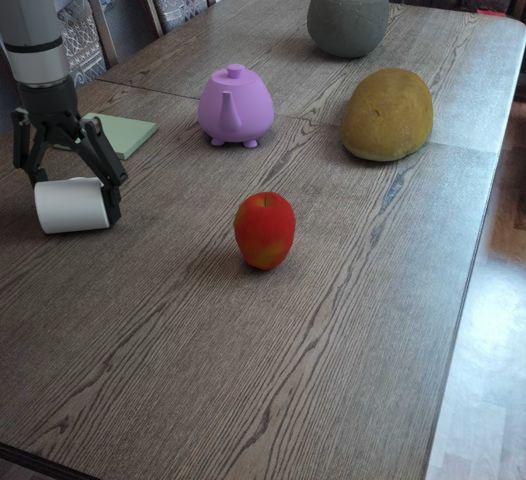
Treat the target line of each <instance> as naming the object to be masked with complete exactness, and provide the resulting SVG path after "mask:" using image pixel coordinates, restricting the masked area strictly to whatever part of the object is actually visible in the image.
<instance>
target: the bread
mask: <svg viewBox="0 0 526 480" xmlns="http://www.w3.org/2000/svg"><path fill="white" fill-rule="evenodd" d="M433 125H434V104H433V98H432V95H431V91H430V89H429V86H428V85H427V83H426V82H425V81H424V80H423V79H422V77H420V76H419V75H418V74H417V73H415V72H413V71H411V70H409V69H404V68H400V67H389V68H388V67H387V68H383V69H379V70H377V71H374V72H372V73H370V74H368V75H367V76H366V77H365V78H363V79H362V80H361V81H360V82H358V84H357V86H356V87H355V88H354V90H353V92H352V94H351V96H350V97H349V100H348V103H347V106H346V111H345V115H344V118H343V121H342V127H341V134H340V137H341V142H342V144H343V146H344V147H345V149H346V150H347V151H348V152H350V153H351V154H352V155H354V156H355V157H357V158H360V159H364V160H369V161H374V162H375V161H376V162H390V161H397V160H401V159H402V158H404V157H405V156H410V155H412V154H414V153H415V152H417V151H419V149H421V148H422V147H423V146H424V144H425V143H426V142H427V141H428V138H429V136H430V134H431V133H432V129H433Z"/></svg>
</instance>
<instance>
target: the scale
mask: <svg viewBox="0 0 526 480" xmlns="http://www.w3.org/2000/svg"><path fill="white" fill-rule="evenodd" d="M95 116H97V117H99V118H100V120H101V123H102V127H103V131H104V133H105V135H106V137H107V139H108V140H109V142H110V144H111V146H112V147H113V149H114V151H115V153H116V155H117V156H118V158H119V160H123V161H126V160H127V159H128V158H129V157H131V155H132V154H133V153H134V152H136V150H138V148H140V147H141V146H142V145H143V144H144V143H145V142H146V141H147V140H148V139H149V138H150V137H151V136H153V134H154V133H156V131H157V130H158V126H157V123H156V122H149V121H144V120H138V119H132V118H126V117H119V116H113V115H108V114H102V113H96V112H87V114H85V115H84V116H83V117H82V118H85V119H92V118H93V117H95ZM82 130H83V131H84V129H82ZM84 132H85V131H84ZM75 142H76V143H79V142H80V139H79V138H77V140H76V141H75ZM53 148H58V149H62V150H69V151H72V150H71V149H70V148H69V147H65V146H61V145H59V144H55V145H53Z"/></svg>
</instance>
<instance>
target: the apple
mask: <svg viewBox="0 0 526 480" xmlns="http://www.w3.org/2000/svg"><path fill="white" fill-rule="evenodd" d="M232 224H233V231H234V238H235V241H236V244H237V246H238V249H239V251H240V253H241V255H242V257H243V260H244V261H245V262H246V263H247V264H248V265H250V266H253V267H255V268H257V269H259V270H261V271H262V270H263V271H268V270H271V269H274V268H275V267H277V266H279V265H281V264H282V263H283V262H284V261H285V260H286V258H287V257H288V254H289V253H290V250H291V248H292V247H293V245H294V238H295V233H296V225H297V220H296V216H295V212H294V209H293V207H292V204H291V203H290V202H289V201H288V200H287V199H286V198H284V197H283V196H282V195H281V194H280V193H277V192H274V191H261V192H256V193H255V194H252V195H250V196H248V197H247V198H245V199H244V200H243V201H242V203H240V204H239V206H238V208H237V211H236V214H235V215H234V219H233V222H232Z"/></svg>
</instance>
